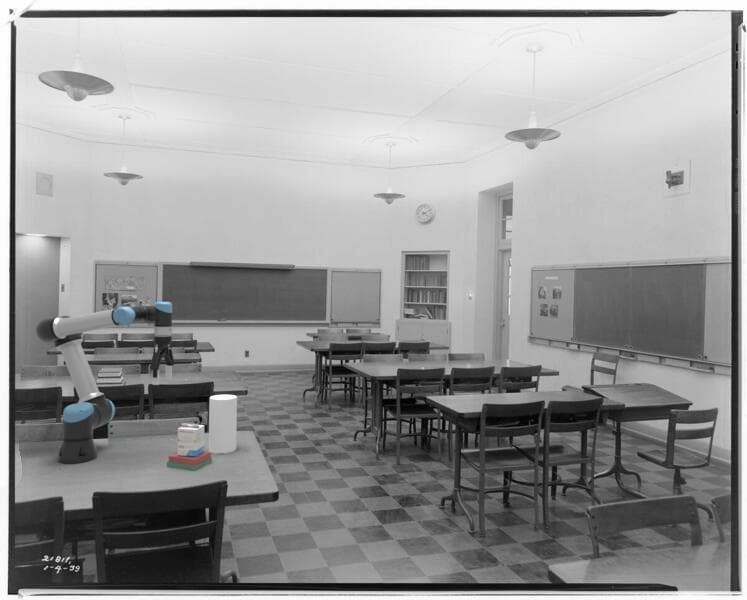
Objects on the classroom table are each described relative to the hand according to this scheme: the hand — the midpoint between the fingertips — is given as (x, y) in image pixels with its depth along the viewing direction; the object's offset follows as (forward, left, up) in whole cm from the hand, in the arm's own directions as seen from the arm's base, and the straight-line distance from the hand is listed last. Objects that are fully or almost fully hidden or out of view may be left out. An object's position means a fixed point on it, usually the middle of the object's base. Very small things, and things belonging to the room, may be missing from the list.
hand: (162, 382), depth 253 cm
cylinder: (+26, +8, -33) cm, 43 cm away
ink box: (+19, -14, -28) cm, 37 cm away
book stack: (+19, -14, -33) cm, 41 cm away
